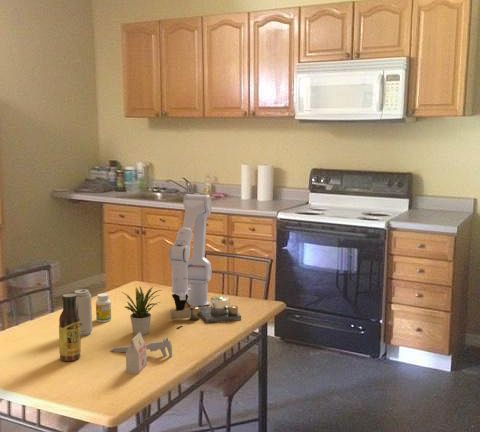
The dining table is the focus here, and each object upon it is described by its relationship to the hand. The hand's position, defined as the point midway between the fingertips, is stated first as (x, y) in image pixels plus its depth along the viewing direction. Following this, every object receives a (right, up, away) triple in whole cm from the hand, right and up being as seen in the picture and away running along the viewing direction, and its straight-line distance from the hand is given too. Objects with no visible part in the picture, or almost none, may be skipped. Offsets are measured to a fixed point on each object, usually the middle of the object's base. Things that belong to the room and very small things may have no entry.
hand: (180, 313), depth 213 cm
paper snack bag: (-8, -9, -44) cm, 46 cm away
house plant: (-11, -4, -15) cm, 19 cm away
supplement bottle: (-28, -2, -2) cm, 28 cm away
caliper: (-9, -7, -33) cm, 35 cm away
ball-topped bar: (+2, -2, -1) cm, 3 cm away
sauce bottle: (-30, -8, -37) cm, 48 cm away
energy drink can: (-32, -4, -15) cm, 35 cm away
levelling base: (+9, -2, +1) cm, 9 cm away
